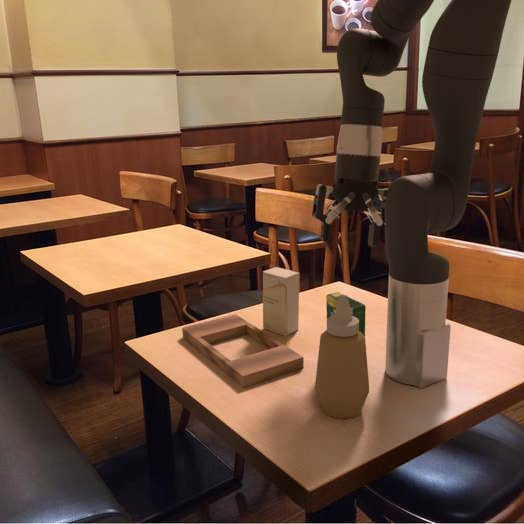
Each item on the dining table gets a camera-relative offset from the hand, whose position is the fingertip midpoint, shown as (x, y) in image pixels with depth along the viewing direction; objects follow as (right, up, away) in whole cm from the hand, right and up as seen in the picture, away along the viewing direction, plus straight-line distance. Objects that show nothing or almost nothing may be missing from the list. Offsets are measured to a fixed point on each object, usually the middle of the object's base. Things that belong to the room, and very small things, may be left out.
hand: (349, 245), depth 102 cm
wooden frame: (-20, -20, +4) cm, 28 cm away
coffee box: (-2, -22, -5) cm, 22 cm away
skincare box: (-12, -17, +13) cm, 24 cm away
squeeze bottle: (-4, -25, -16) cm, 30 cm away
